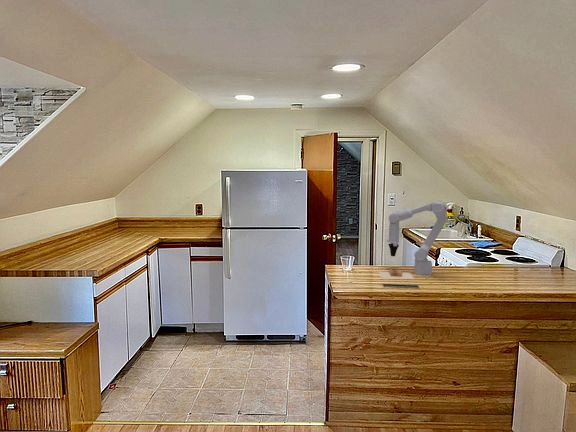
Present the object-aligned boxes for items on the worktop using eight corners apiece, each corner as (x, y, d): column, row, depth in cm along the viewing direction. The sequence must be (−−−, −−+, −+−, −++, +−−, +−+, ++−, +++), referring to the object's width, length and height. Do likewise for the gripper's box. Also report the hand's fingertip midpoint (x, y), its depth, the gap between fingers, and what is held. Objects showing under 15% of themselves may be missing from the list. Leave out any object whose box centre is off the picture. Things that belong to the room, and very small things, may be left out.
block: (399, 273, 240) (399, 269, 240) (402, 276, 232) (402, 273, 232) (389, 272, 241) (389, 269, 241) (391, 276, 233) (391, 272, 233)
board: (409, 274, 241) (409, 272, 241) (414, 280, 228) (414, 278, 228) (378, 273, 243) (378, 271, 243) (380, 279, 230) (380, 277, 230)
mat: (414, 280, 228) (414, 280, 228) (419, 288, 215) (419, 287, 215) (380, 279, 230) (380, 279, 230) (383, 287, 216) (383, 286, 216)
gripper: (385, 231, 253) (384, 253, 254) (388, 235, 238) (387, 258, 240) (397, 231, 252) (396, 253, 254) (401, 235, 238) (400, 258, 239)
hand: (393, 256), depth 247 cm, fingers closed
